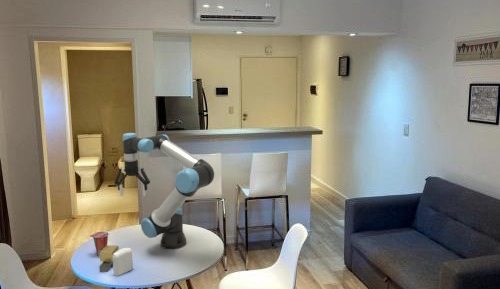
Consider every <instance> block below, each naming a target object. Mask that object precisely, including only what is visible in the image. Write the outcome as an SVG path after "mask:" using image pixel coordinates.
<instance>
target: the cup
mask: <svg viewBox="0 0 500 289" xmlns="http://www.w3.org/2000/svg"><path fill="white" fill-rule="evenodd" d="M89 237H91V238H92V239H93V242H94V247H95V252H96V256H97V257H100V252H101V251H102V249H103V248H104V247H105V246H108V240H109V239H108V238H109V232H107V231H99V232H94V233H92V234H91V235H89Z"/></svg>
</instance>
